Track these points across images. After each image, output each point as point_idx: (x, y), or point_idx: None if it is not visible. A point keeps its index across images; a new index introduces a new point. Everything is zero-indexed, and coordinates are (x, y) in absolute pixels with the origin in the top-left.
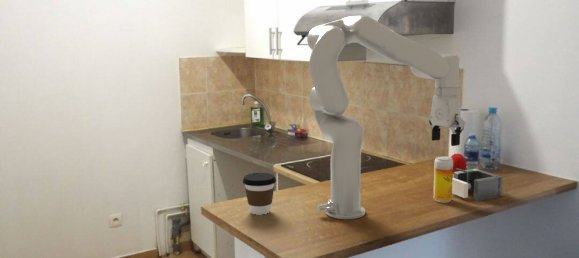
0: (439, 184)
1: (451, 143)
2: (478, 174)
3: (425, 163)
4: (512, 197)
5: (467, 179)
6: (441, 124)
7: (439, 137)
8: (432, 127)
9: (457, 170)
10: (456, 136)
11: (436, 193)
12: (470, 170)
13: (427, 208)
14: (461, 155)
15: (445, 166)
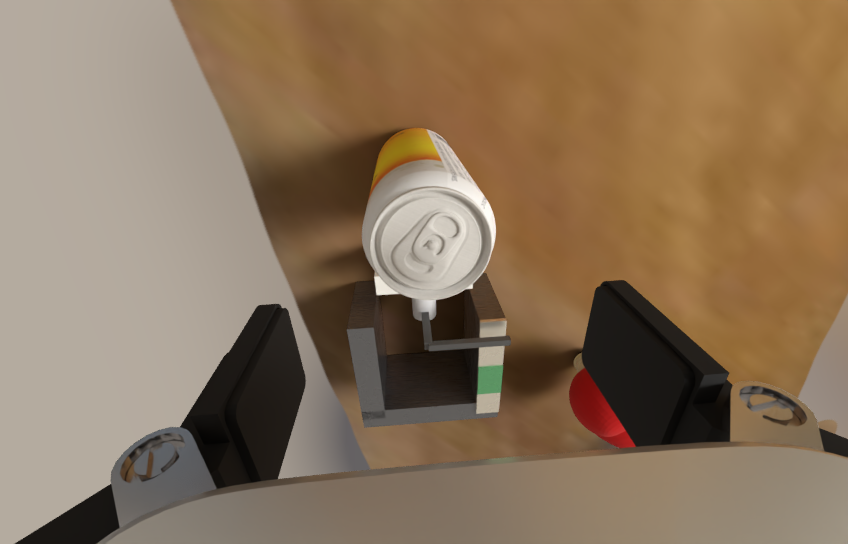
0: (394, 147)
1: (263, 316)
2: (468, 393)
3: (790, 377)
4: (349, 388)
5: (425, 323)
6: (407, 517)
7: (593, 369)
8: (750, 405)
9: (577, 373)
10: (193, 425)
11: (409, 133)
12: (485, 383)
13: (343, 20)
14: (625, 446)
15: (368, 202)
